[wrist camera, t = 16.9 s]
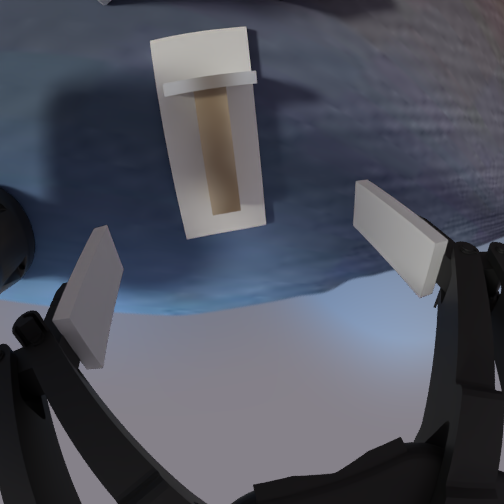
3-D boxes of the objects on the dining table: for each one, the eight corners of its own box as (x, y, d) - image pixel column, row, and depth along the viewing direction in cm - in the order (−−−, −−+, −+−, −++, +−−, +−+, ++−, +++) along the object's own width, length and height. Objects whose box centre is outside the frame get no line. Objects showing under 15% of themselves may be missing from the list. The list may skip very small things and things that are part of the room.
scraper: (189, 205, 34) (189, 228, 29) (168, 84, 26) (162, 83, 21) (256, 193, 35) (268, 214, 30) (244, 72, 27) (255, 70, 22)
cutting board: (186, 235, 37) (186, 239, 36) (151, 42, 24) (149, 40, 23) (264, 221, 38) (266, 224, 38) (244, 28, 25) (246, 26, 24)
